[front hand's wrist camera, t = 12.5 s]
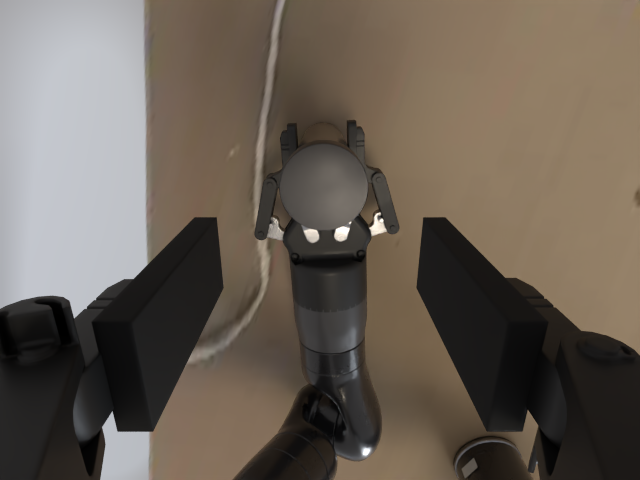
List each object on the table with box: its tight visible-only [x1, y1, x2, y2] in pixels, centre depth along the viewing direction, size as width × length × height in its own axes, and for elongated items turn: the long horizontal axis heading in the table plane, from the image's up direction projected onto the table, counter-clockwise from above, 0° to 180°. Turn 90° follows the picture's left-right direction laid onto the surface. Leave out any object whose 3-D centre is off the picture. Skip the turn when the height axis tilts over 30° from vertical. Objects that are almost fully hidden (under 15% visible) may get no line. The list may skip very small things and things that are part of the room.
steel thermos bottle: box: [298, 123, 348, 148], centre depth 32 cm, size 4×4×19 cm
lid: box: [279, 140, 368, 231], centre depth 24 cm, size 5×5×2 cm
